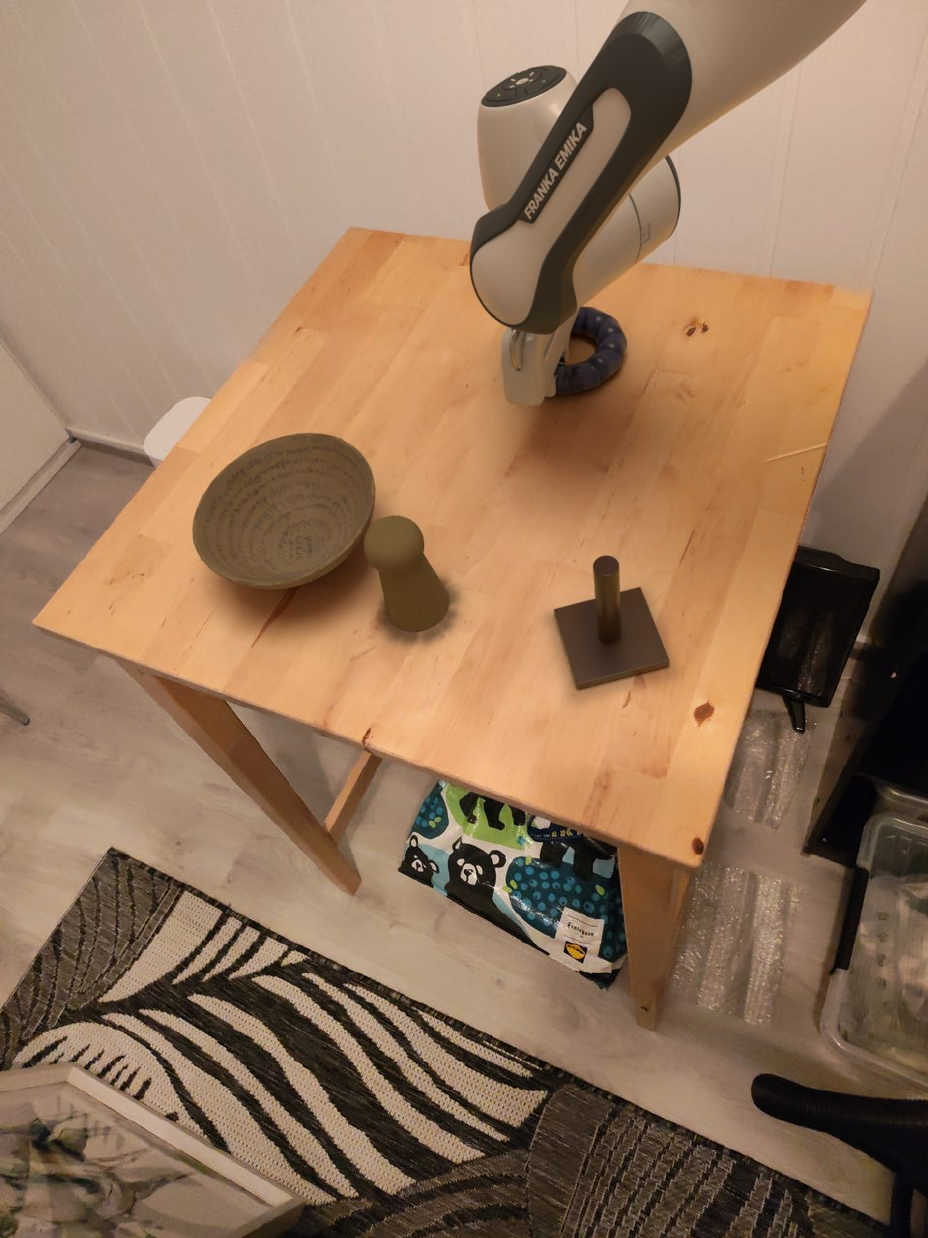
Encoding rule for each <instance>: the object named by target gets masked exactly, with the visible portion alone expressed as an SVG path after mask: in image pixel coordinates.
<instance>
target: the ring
mask: <svg viewBox="0 0 928 1238" xmlns="http://www.w3.org/2000/svg"><path fill="white" fill-rule="evenodd" d="M570 335H583V336H587V337H589V338H591V339H592V340H594V341H596V343H597V346H598V347H597V349H596V352H594V353H593V354H591V355H590V356H589V357H588V358H586V359H585V360H583V361H579V362H576V363H572V364H567V365H566V366H558V365H557V367H556V370H555V372H554V375H557V376H558V388H557V391H556V393H555V395H559V396H560V395H561V396H570V395H574V394H578V393H580V392H584V391H588V390H592V389H595V388H597V387H599V386H600V385H601V384H603V383H604V382H605V381H606V380H608V379H609V378H610V377H611V376H613V375H614V374H615V373H617V372H618V370H620V368H621V366H622V363H623V361H624V358H625V355H626V351H627V349H628V339H627V337H626V335H625V333H624V330H623V329H622V326H621V325H620V322H619V321H618V320H617V319H616V318H615V317H613V316H612V315H610V314H608V313H606V312H604V311H602V310H600V309H599V308H596V307H594V306H584V305H583V306H581V307H580V310H579V312H578V315H577V317H576V320H575V322H574V325H573V327H572V330H571V332H570Z"/></svg>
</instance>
